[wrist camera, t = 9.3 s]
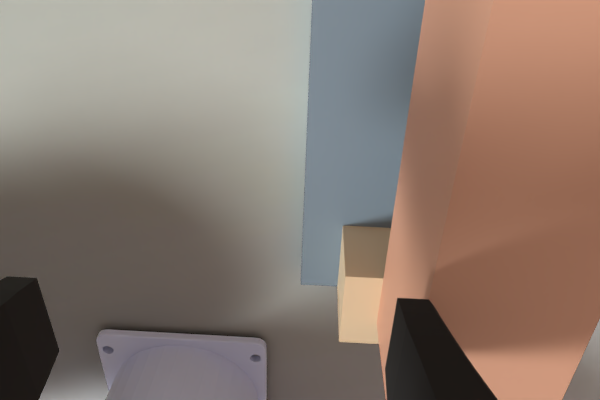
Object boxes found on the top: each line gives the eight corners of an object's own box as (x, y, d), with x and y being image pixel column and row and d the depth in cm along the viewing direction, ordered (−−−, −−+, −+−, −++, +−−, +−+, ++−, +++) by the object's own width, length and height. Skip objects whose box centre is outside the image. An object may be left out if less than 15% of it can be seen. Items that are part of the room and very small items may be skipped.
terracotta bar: (478, 329, 17) (529, 471, 13) (376, 323, 17) (393, 462, 13) (627, -176, 10) (857, -239, 6) (452, -182, 10) (546, -246, 6)
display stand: (514, 280, 21) (550, 353, 18) (301, 269, 21) (296, 339, 18) (670, -201, 13) (797, -240, 9) (321, -211, 13) (319, -252, 10)
